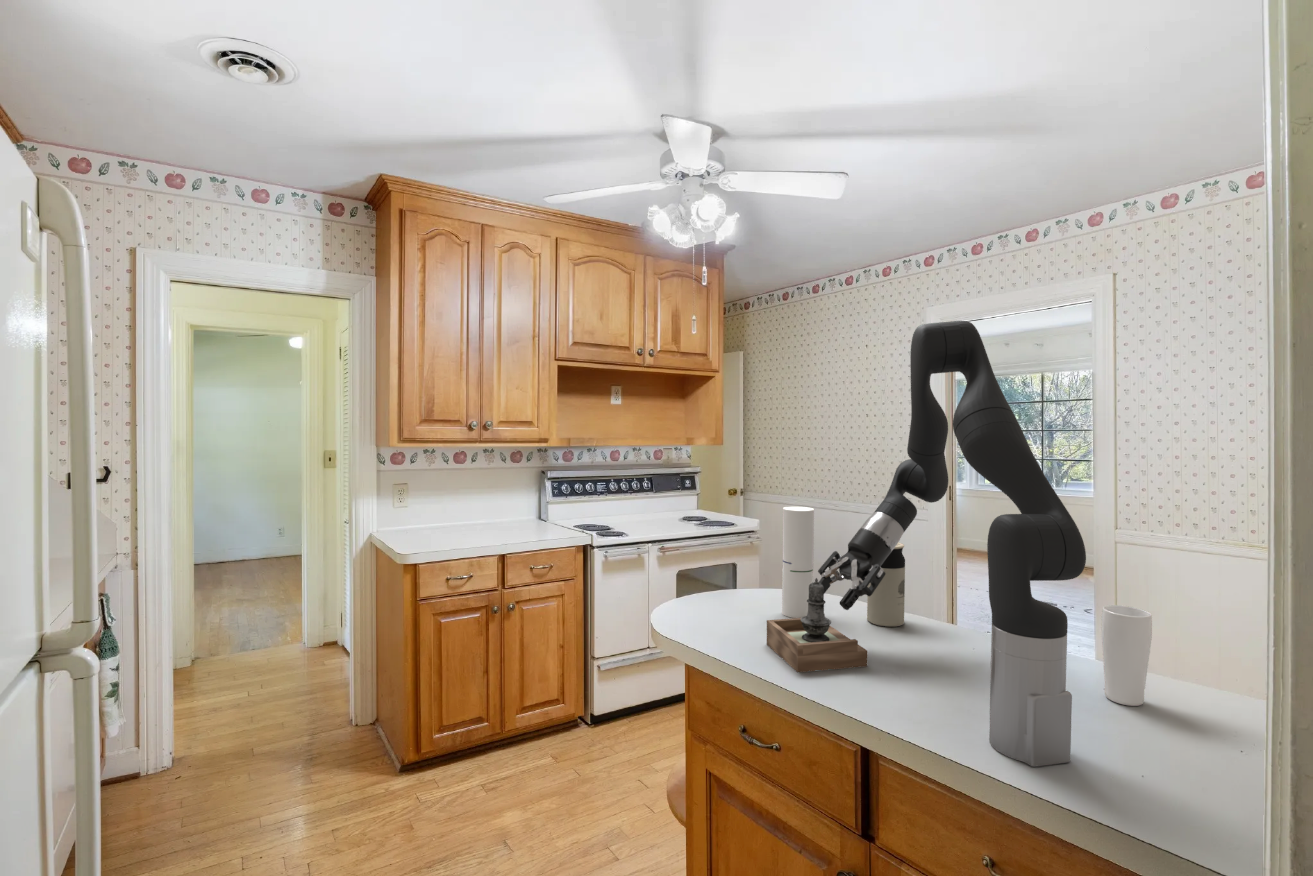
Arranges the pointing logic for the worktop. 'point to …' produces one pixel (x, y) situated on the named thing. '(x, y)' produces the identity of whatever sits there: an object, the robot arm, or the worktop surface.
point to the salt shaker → (815, 615)
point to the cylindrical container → (797, 560)
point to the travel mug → (889, 592)
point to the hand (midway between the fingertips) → (829, 601)
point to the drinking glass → (1125, 652)
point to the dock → (813, 647)
